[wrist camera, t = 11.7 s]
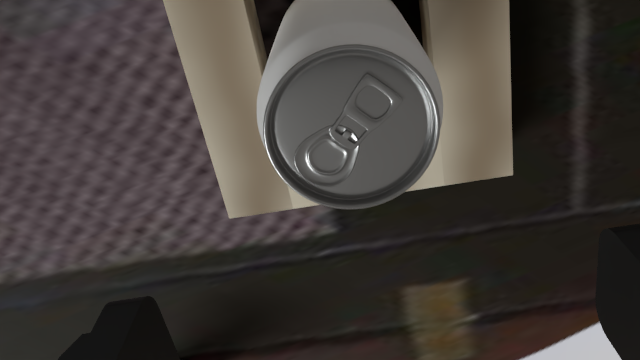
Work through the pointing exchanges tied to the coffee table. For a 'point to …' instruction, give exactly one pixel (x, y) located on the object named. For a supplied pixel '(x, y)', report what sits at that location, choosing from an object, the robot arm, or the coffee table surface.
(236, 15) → the socket block
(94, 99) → the coffee table surface
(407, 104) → the can
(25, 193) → the coffee table surface
